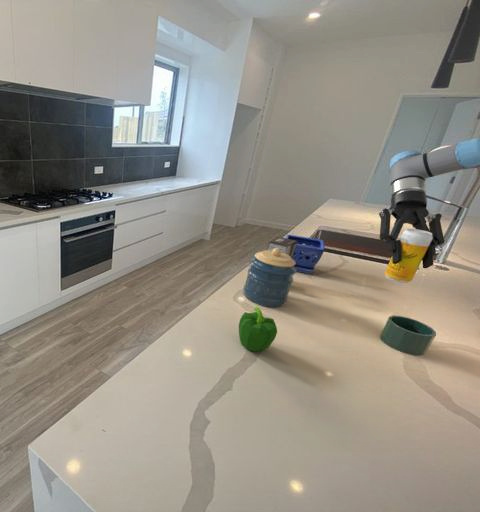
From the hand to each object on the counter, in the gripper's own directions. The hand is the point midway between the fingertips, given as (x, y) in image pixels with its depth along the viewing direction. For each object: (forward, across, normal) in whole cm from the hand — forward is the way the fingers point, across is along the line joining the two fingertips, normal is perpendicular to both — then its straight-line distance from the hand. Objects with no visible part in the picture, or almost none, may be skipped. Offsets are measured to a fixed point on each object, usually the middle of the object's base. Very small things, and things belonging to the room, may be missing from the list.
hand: (412, 264), depth 84 cm
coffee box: (+5, +30, -21) cm, 37 cm away
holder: (+23, +2, -2) cm, 23 cm away
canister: (+15, +34, -10) cm, 39 cm away
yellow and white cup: (+2, 0, -7) cm, 7 cm away
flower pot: (-9, +19, -34) cm, 40 cm away
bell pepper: (+36, +39, +10) cm, 54 cm away
